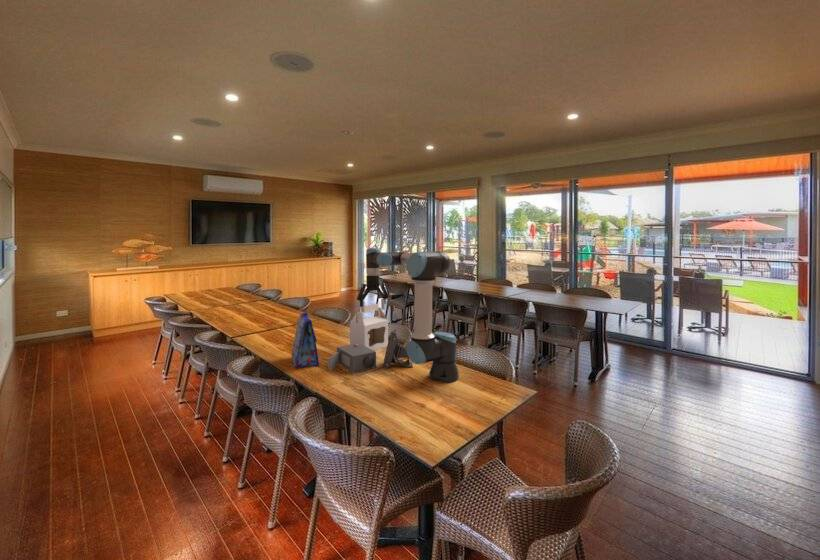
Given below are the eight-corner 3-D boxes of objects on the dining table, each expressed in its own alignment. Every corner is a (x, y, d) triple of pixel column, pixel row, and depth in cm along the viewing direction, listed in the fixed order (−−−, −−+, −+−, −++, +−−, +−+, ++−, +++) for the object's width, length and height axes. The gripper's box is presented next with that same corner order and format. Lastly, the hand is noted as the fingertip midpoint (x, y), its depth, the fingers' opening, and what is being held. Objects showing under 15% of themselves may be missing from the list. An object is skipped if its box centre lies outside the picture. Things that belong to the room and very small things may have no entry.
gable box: (373, 342, 262) (373, 301, 259) (388, 345, 254) (388, 303, 251) (349, 349, 245) (349, 306, 242) (364, 353, 237) (364, 308, 234)
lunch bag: (319, 366, 215) (318, 315, 211) (294, 369, 210) (292, 316, 206) (314, 354, 235) (313, 307, 231) (291, 357, 230) (289, 309, 226)
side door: (330, 370, 204) (330, 358, 204) (327, 370, 205) (327, 358, 204) (340, 362, 216) (340, 351, 216) (337, 362, 217) (337, 351, 216)
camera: (410, 374, 212) (420, 340, 210) (381, 367, 211) (390, 332, 209) (410, 368, 223) (419, 335, 221) (382, 360, 222) (391, 327, 220)
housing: (378, 368, 211) (377, 351, 210) (354, 373, 203) (354, 355, 202) (359, 358, 229) (358, 341, 228) (336, 362, 221) (336, 345, 220)
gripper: (387, 273, 235) (387, 307, 238) (350, 275, 221) (351, 312, 224) (394, 274, 229) (394, 309, 232) (356, 276, 215) (357, 314, 218)
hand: (373, 310), depth 228 cm, fingers open, 13 cm apart
